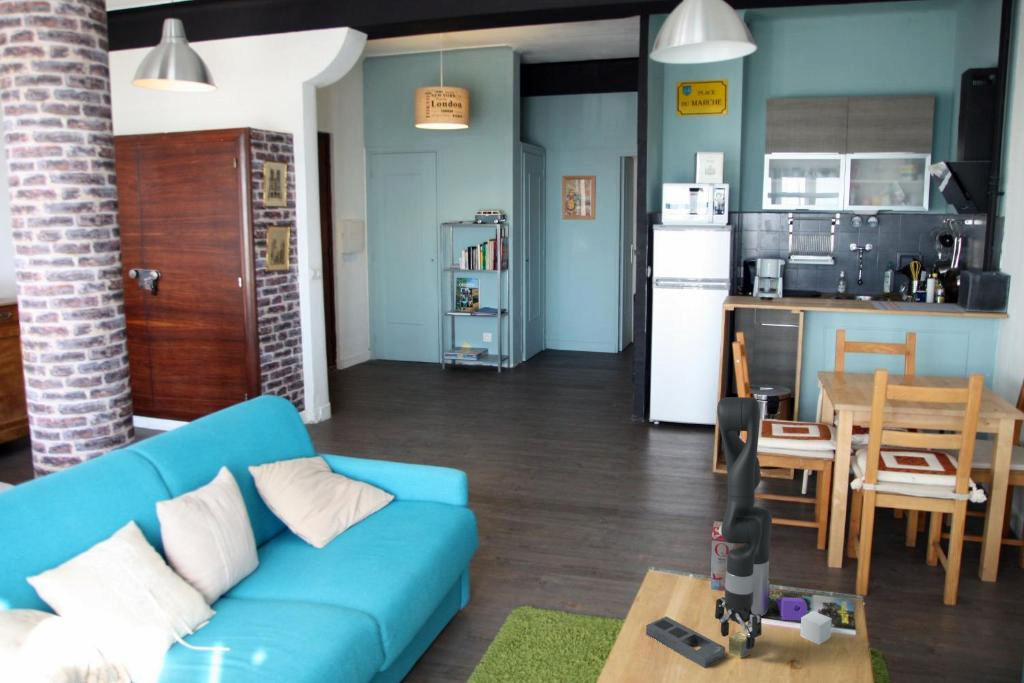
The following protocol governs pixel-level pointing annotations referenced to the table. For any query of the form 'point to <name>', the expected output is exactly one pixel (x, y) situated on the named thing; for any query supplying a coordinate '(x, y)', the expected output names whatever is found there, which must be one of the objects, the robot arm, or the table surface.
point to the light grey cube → (816, 627)
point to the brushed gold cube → (738, 645)
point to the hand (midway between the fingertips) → (737, 641)
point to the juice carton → (719, 558)
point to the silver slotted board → (685, 641)
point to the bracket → (792, 608)
